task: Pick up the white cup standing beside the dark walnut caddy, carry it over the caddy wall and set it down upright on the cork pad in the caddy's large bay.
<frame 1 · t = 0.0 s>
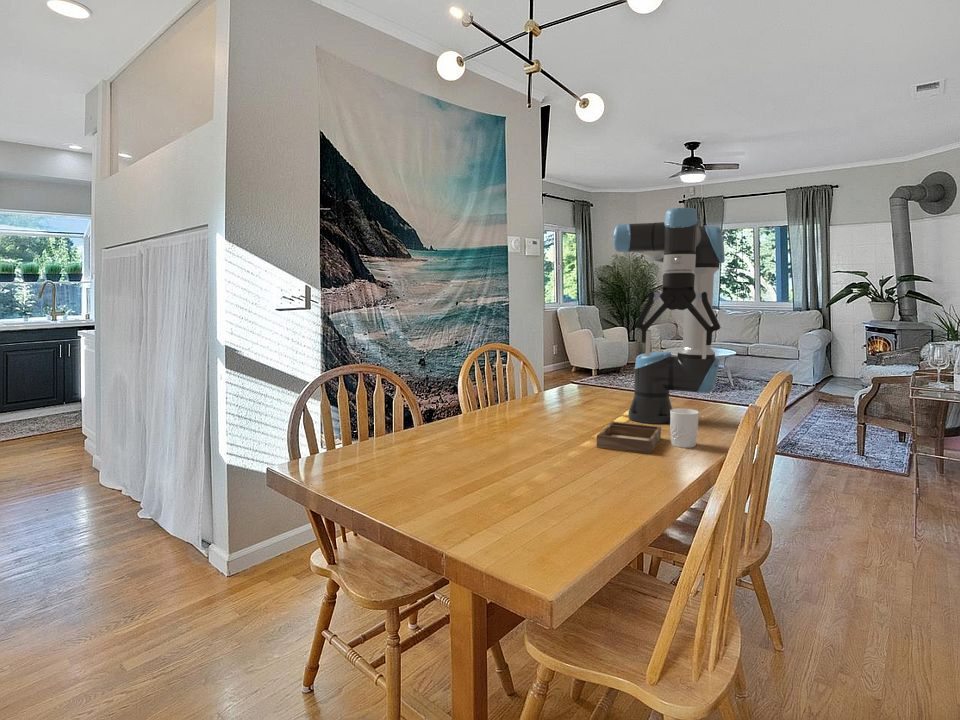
hand: (675, 357, 144), 28 cm above the table, fingers open, 13 cm apart
walnut caddy: (629, 442, 167), on the table
white cup: (683, 445, 165), on the table
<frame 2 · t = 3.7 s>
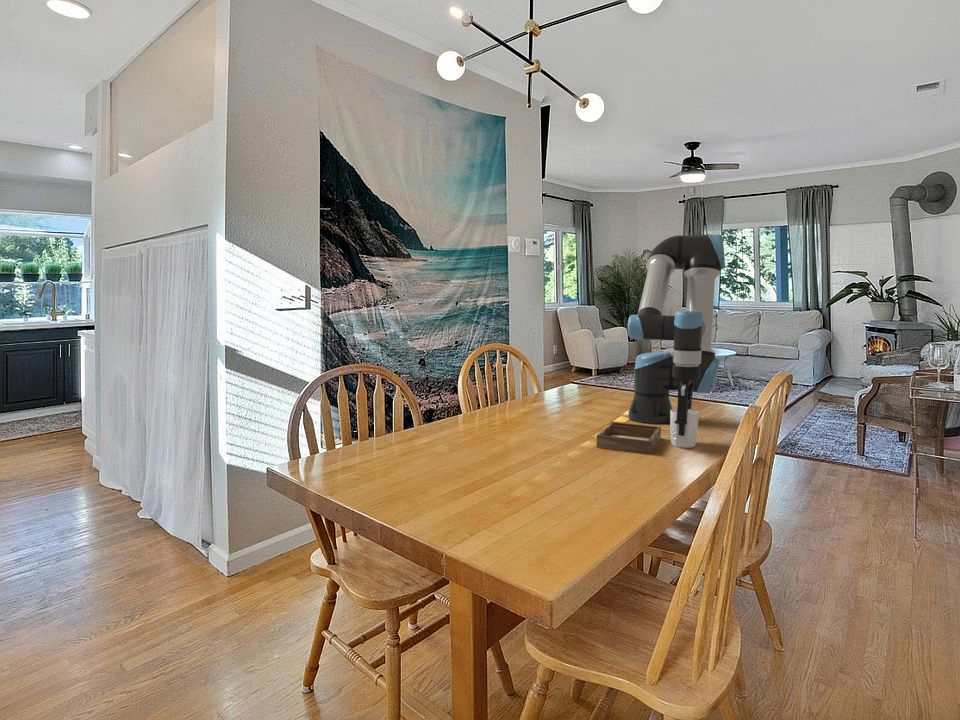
hand: (683, 442, 165), 1 cm above the table, fingers closed on white cup, 8 cm apart
white cup: (683, 445, 165), on the table, touching gripper
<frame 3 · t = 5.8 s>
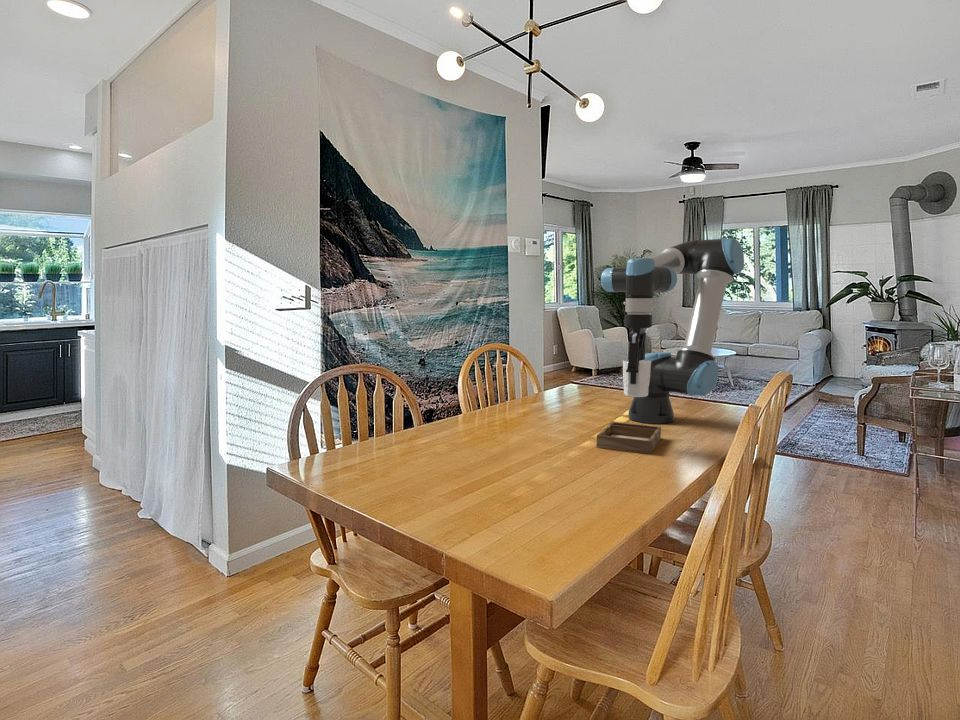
hand: (635, 392, 163), 15 cm above the table, fingers closed on white cup, 8 cm apart
white cup: (635, 395, 163), point 14 cm above the table, touching gripper
when the fingers open (4 cm above the table, at t = 8.1 s): white cup drops 2 cm, resting on walnut caddy.
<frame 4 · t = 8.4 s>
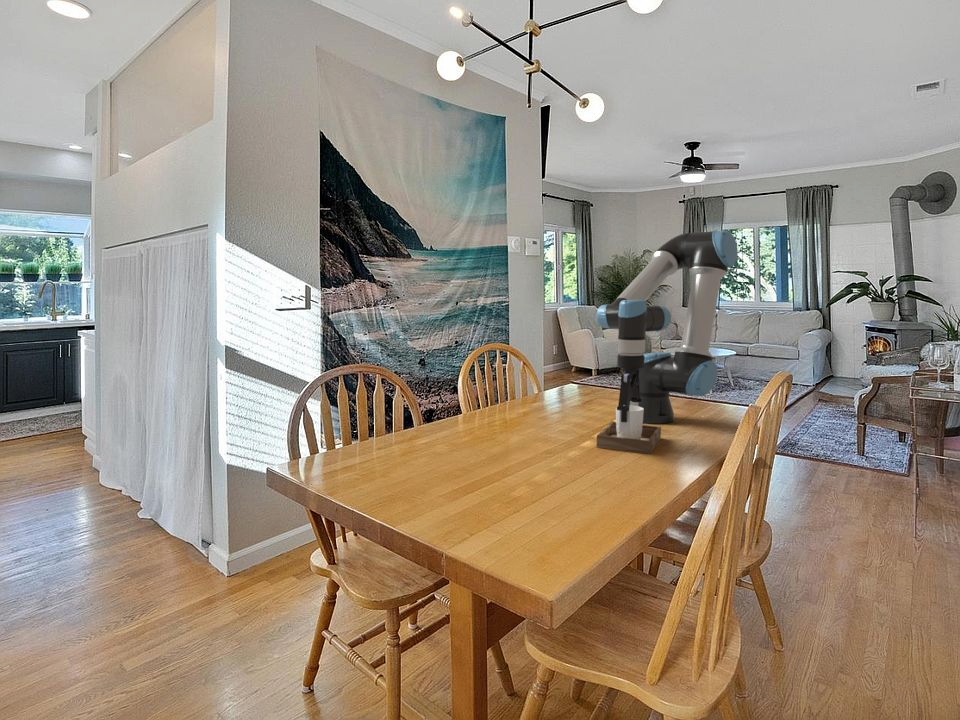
hand: (628, 428, 165), 5 cm above the table, fingers open, 11 cm apart
white cup: (628, 442, 165), point 1 cm above the table, touching walnut caddy
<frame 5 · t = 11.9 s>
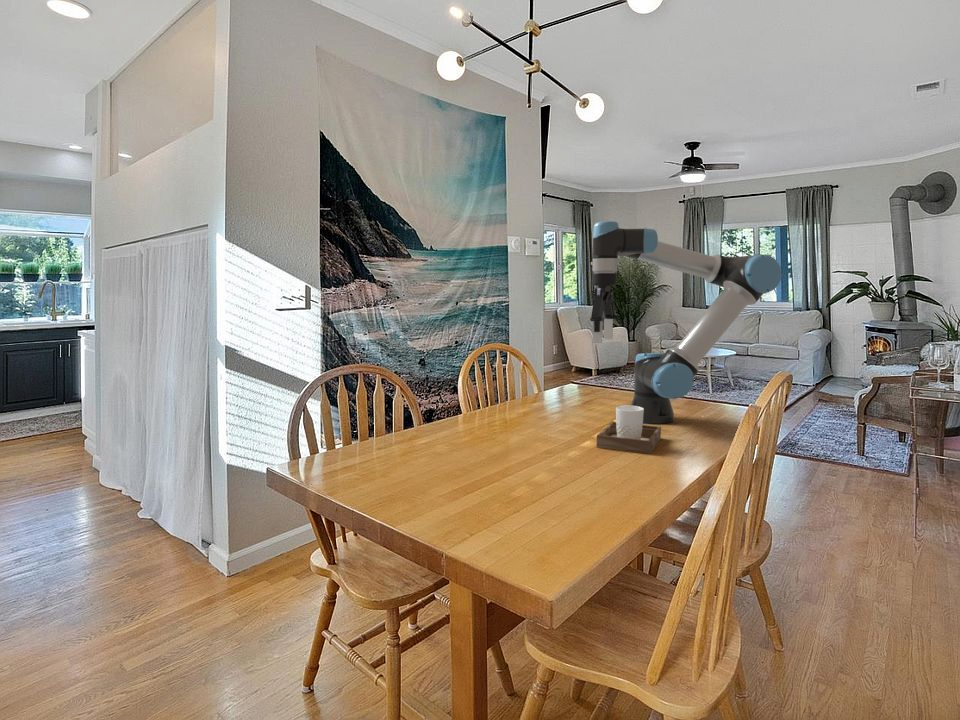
hand: (602, 340, 179), 29 cm above the table, fingers open, 13 cm apart
nothing on the table moved.
at the end: white cup inside the target area on the walnut caddy (0.2 cm from its centre), point 0.6 cm above the walnut caddy's base; white cup tilted 0°; the gripper is holding nothing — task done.
